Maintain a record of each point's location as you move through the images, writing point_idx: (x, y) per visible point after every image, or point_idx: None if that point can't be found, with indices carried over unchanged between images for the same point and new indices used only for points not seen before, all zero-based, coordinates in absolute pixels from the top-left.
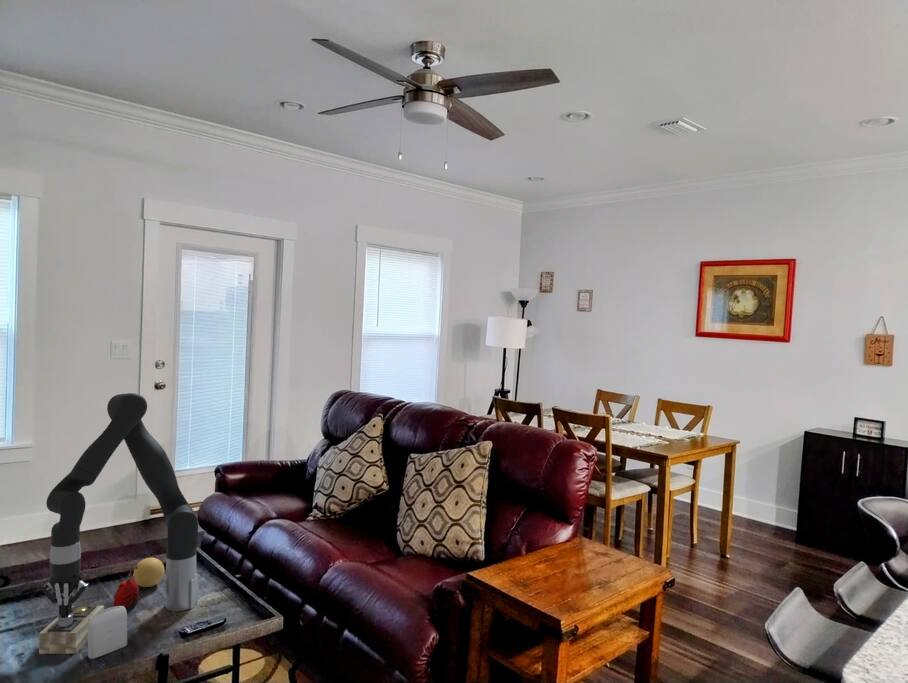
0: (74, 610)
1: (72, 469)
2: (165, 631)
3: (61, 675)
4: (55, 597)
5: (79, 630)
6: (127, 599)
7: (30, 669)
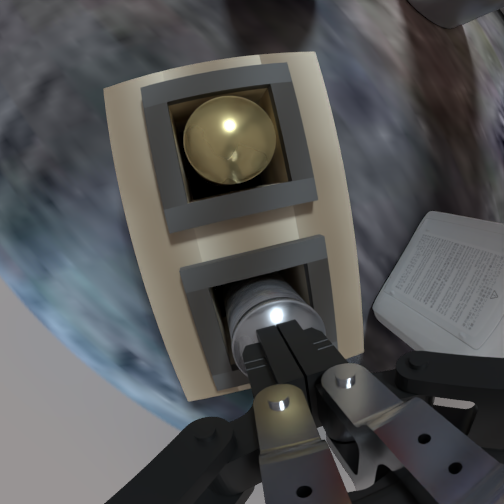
0: (198, 160)
1: None
2: (482, 137)
3: None
4: (225, 486)
5: (360, 322)
6: None
7: (241, 414)
